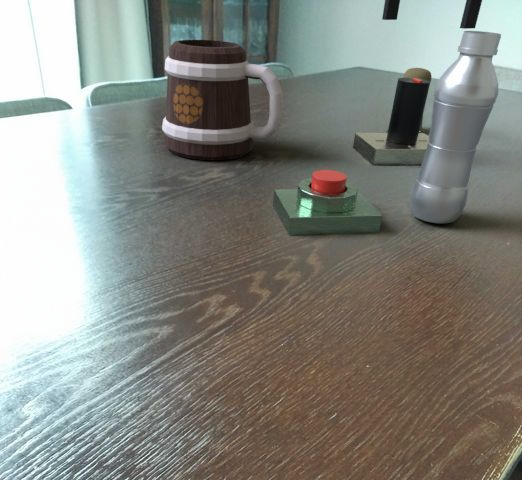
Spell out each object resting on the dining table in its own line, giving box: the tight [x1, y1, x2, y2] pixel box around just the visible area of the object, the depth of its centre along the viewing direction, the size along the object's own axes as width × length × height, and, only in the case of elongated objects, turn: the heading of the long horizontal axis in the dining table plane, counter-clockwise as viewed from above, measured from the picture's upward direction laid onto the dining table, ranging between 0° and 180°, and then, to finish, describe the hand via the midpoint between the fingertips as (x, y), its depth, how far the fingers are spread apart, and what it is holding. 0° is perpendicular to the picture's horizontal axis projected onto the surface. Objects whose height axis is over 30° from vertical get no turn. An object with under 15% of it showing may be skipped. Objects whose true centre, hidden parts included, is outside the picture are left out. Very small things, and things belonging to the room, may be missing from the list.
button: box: [311, 169, 348, 194], centre depth 58 cm, size 4×4×2 cm
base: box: [352, 132, 429, 166], centre depth 84 cm, size 13×10×3 cm
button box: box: [272, 177, 383, 236], centre depth 60 cm, size 11×9×4 cm
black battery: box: [386, 77, 431, 144], centre depth 80 cm, size 5×5×9 cm
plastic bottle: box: [409, 30, 502, 224], centre depth 56 cm, size 6×7×20 cm
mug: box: [161, 39, 284, 161], centre depth 77 cm, size 20×15×15 cm
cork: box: [402, 67, 432, 133], centre depth 96 cm, size 6×6×11 cm
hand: (426, 24), depth 73 cm, fingers open, 13 cm apart
